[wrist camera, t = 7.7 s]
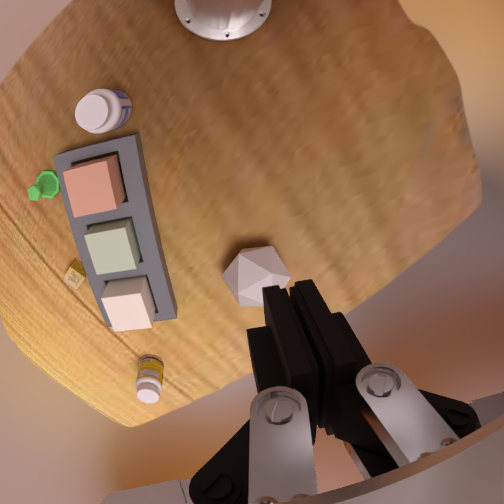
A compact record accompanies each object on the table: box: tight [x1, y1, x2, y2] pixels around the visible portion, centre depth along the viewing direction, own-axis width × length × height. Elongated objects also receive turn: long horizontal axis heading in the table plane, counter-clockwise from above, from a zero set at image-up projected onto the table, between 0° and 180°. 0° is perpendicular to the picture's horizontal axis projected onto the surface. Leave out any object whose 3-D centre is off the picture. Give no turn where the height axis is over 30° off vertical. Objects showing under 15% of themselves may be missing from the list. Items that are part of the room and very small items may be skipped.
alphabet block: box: [63, 259, 87, 291], centre depth 45 cm, size 3×3×3 cm
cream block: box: [101, 275, 156, 332], centre depth 45 cm, size 6×6×5 cm
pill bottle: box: [75, 89, 132, 134], centre depth 33 cm, size 5×5×10 cm
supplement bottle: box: [136, 355, 164, 403], centre depth 53 cm, size 5×5×8 cm
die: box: [222, 246, 291, 307], centre depth 46 cm, size 8×9×10 cm
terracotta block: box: [63, 154, 126, 218], centre depth 37 cm, size 6×6×5 cm
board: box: [53, 133, 177, 327], centre depth 44 cm, size 28×12×3 cm, turn 6°
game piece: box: [27, 170, 61, 200], centre depth 37 cm, size 4×4×6 cm
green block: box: [84, 216, 141, 275], centre depth 42 cm, size 6×6×5 cm
